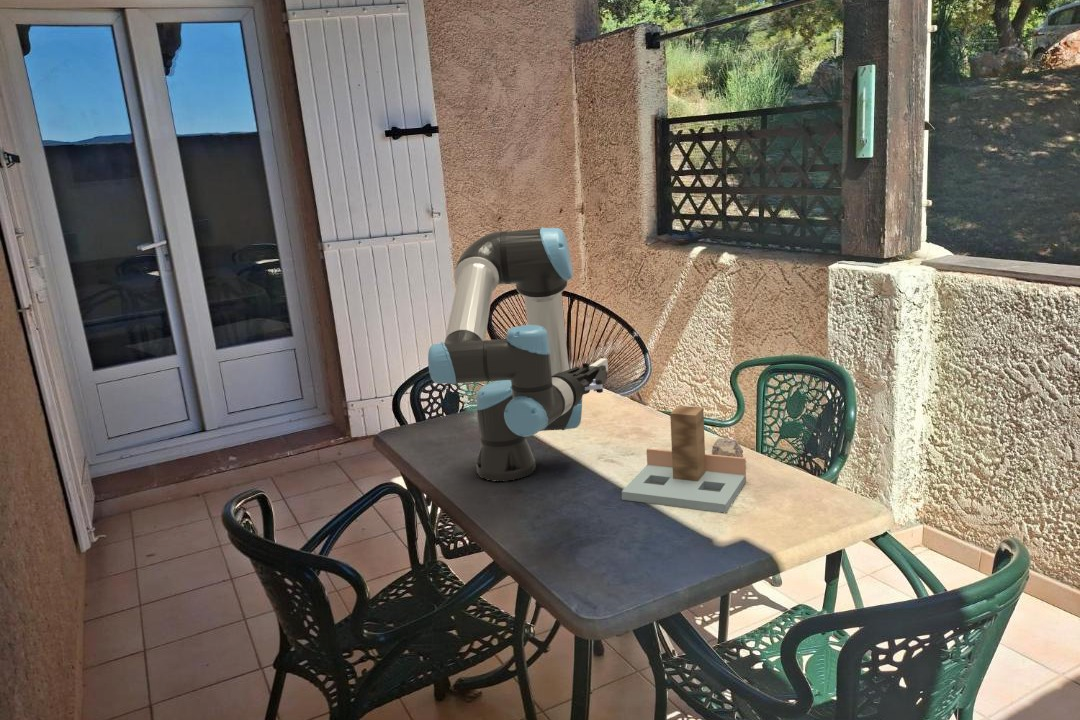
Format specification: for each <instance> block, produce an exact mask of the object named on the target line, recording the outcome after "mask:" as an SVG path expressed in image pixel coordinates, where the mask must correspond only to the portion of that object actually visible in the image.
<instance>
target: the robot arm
mask: <svg viewBox="0 0 1080 720" xmlns="http://www.w3.org/2000/svg"><path fill="white" fill-rule="evenodd" d="M571 257H572V256H571V251H570V247H569V243H568V239H567V235H566V234H565V232H564V231H563V229H561V228H558V227H549V228H546V227H540V228H532V229H531V228H530V229H521V230H520V229H519V230H509V231H508V230H507V231H502V230H501V231H494V232H491V233H488V234H485V235H484V236H481V237H480V238H479V239H477V240H475V241H474V242H473V243H472V244H470V245H469V246H467V248H466V249H465V251H464V252H463V253H462V254H461V255H460V257H459V259H458V261H457V263H456V265H455V270H454V276H453V277H454V282H455V284H456V286H455V292H454V296H453V301H452V302H453V303H452V305H451V311H450V315H449V319H448V320H449V321H448V325H447V328H446V333H445V339H444V342H443V341H441V342H440V343H434V344H432V345H430V347H429V349H428V353H427V361H428V362H427V363H428V372H429V375H430V376H429V377H430V378H431V380H432V382H434V383H435V384H438V385H439V384H442V385H444V384H449V385H450V384H452V385H457V384H467V383H468V384H469V383H470V384H471V383H480V382H482V383H483V382H489V383H486V384H485V385H483V386H482V387H480V388H479V389H478V391H477V392H476V411H477V419H478V427H479V437H480V447H479V448H480V449H479V452H478V457H477V460H476V461H477V462H476V474H477V473H478V475H479V476H481V477H482V478H485V479H489V480H496V481H497V480H498V481H503V480H504V482H507V481H506V480H513V479H518V478H521V479H523V478H522V477H524V478H526V477H525V476H527V477H529V476H530V475H532V474H533V473H534V472H535V471H536V469H535V468H537V466H536V458H535V456H534V454H533V452H532V450H531V447H530V445H529V443H528V442H529V441H528V440H527V437H532V436H534V435H536V434H537V433H539V432H542V431H543V432H545V431H547V432H548V431H566V430H570V429H577V428H578V427H580V425H581V422H582V413H583V396H584V395H586V394H589V393H590V392H591V391H592V390H593V392H596V393H598V394H602V393H604V385H605V384H606V382H607V380H608V374H607V372H608V371H609V364H608V363H609V362H608V358H604V357H603V358H602V357H601V358H599V359H598V360H596V361H594V362H593V363H592V364H590V365H589V363H587V362H585V363H582V367H581V368H580V367H579V366H574V367H572V368H570V366H569V358H568V348H567V338H566V326H565V317H564V314H565V313H564V305H563V296H562V295H563V292H564V291H565V290H566V288H568V282H569V281H570V280H571V279H573V276H574V272H573V264H572V263H573V262H572V259H571ZM513 284H514V285H515V286H516V291H517V292H518V294H519V295H521V296H522V297H523V298H524V305H525V307H524V308H525V313H526V315H525V316H526V321H527V324H524V325H520V326H519V325H518V326H514V327H511V328H509V329H508V330H507V331H506V336H505V338H501V339H500V338H499V339H486V337H487V336H486V335H487V330H488V323H489V317H490V308H491V305H492V304H491V303H492V296H493V292H494V290H495V289H496V288H497V287H498V285H513ZM569 368H570V369H569ZM534 470H535V471H534ZM533 471H534V472H533ZM532 472H533V473H532ZM531 473H532V474H531ZM529 474H530V475H529ZM478 475H477V476H478ZM528 475H529V476H528ZM479 476H478V477H479ZM482 478H481V479H482ZM518 480H519V479H518ZM513 481H514V480H513Z"/></svg>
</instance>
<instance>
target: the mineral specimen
mask: <svg viewBox="0 0 1080 720" xmlns="http://www.w3.org/2000/svg"><path fill="white" fill-rule="evenodd" d="M711 447H712V448H711V455H722V456H732V457H742V458H744V454H743V453H744V450H743V448H742V447H741V445H740V444H739V441H737V440H736V439H731V438H718V439H716V441H715V442H714V443H713V445H712V446H711Z"/></svg>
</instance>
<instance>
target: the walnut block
mask: <svg viewBox="0 0 1080 720" xmlns="http://www.w3.org/2000/svg"><path fill="white" fill-rule="evenodd" d="M704 413H705V412H704V407H701V406H689V405H688V406H686V405H678V406H676V407H675V408H674V409H673V410H672V411H671V412H670V414H669V417H670V433H671V434H670V437H671V438H670V439H671V451H672V464H673V479H680V480H689V481H699V480H700V478H701V477H702V476H703V475H704V473H705V472H706V469H705V454H706V443H705V417H704V416H705V415H704Z"/></svg>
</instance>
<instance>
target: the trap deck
mask: <svg viewBox="0 0 1080 720" xmlns="http://www.w3.org/2000/svg"><path fill="white" fill-rule="evenodd" d="M746 459H747V458H746V457H743V458H742V457H732V456H722V455H712V453H711V454H709V453H705V469H706V472H705V473H704V475H703V476H702V477H701V478H700V480H699V481H689V480H680V479H673V464H672V450H668V449H667V450H665V449H660V448H658V449H656V448H649V447H648V448H646V462H647V463H646V465H645V466H644V467H643V468H642V470H640V472H638V474H636V475H635V477H634V478H633V479H632V480H631V481H630V482H629V483H628V484H627V485H626V486H625V487H624V488H623V489H622V491H621V500H622V501H623V500H624V501H631V502H638V503H647V504H653V505H660V504H661V505H660V506H662V505H663V506H667V505H670V506H669V507H675V506H677V507H676V508H685V509H693V510H698V509H699V511H706V510H707V511H709V512H714V511H716V512H715V513H721V512H725V513H724V514H727V513H728V511H729V509H730V508H731V506H732V505H733V503H734V502H733V501H735V500H736V498H737V497H738V495H739V494H740V492H741V491H742V489H743V488H744V486H745V485H746V482H747V467H746V465H747V460H746ZM731 504H732V505H731ZM729 507H730V508H729Z"/></svg>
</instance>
